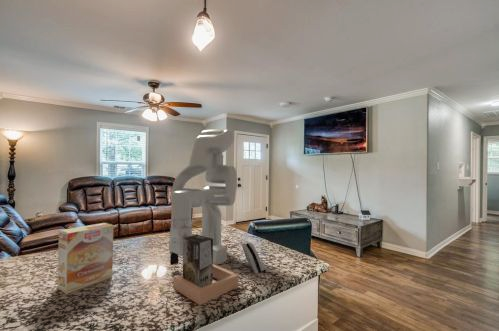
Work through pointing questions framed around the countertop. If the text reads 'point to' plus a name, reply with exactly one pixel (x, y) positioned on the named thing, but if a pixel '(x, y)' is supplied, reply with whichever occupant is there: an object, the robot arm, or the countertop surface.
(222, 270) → the bracket
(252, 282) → the countertop surface
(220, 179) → the robot arm
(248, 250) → the grey game console
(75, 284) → the coffeecake box
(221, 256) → the light grey cube
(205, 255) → the coffee box
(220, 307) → the countertop surface
